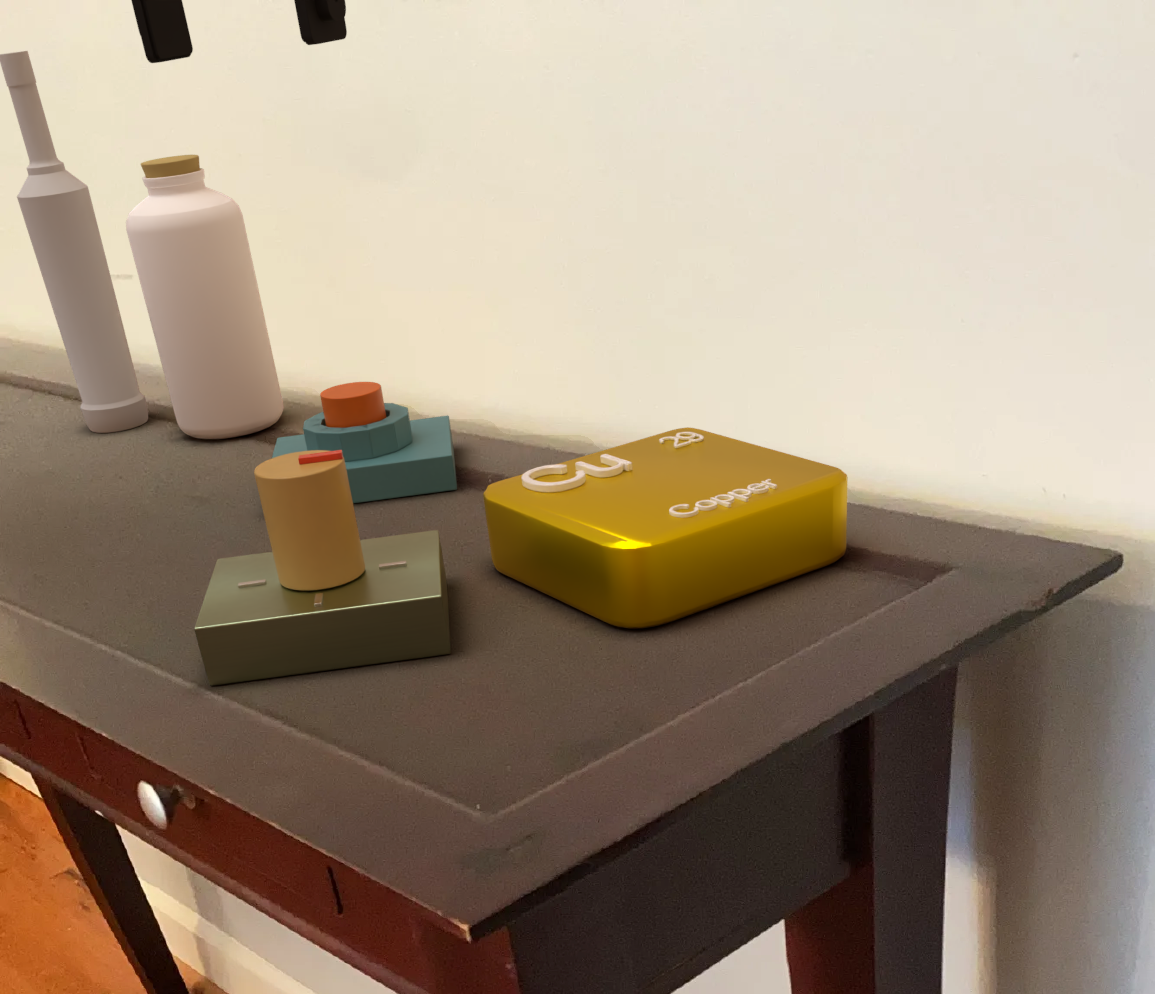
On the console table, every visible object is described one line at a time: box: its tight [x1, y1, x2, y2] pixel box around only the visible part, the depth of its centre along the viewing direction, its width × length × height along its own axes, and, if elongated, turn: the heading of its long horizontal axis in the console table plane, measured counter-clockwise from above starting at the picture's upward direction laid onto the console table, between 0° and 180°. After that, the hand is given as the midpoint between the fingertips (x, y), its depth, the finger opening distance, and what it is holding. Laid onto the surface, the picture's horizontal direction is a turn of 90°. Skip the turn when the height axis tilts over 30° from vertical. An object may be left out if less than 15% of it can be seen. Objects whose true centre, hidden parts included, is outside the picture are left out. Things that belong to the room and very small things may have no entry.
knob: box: [253, 450, 365, 590], centre depth 70 cm, size 4×4×6 cm
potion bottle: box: [125, 154, 285, 440], centre depth 104 cm, size 8×8×18 cm
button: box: [319, 381, 387, 428], centre depth 92 cm, size 4×4×2 cm
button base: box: [271, 402, 458, 504], centre depth 93 cm, size 12×10×4 cm
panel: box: [193, 529, 452, 687], centre depth 72 cm, size 12×10×3 cm
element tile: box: [482, 427, 848, 630], centre depth 75 cm, size 15×15×5 cm
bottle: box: [0, 50, 149, 434], centre depth 107 cm, size 5×5×25 cm
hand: (246, 51), depth 71 cm, fingers open, 9 cm apart
